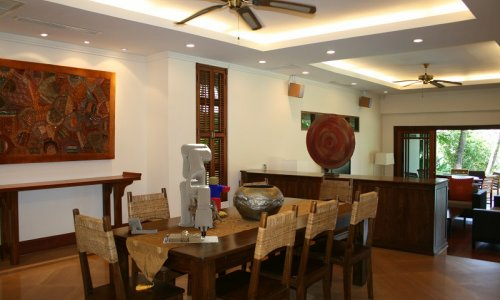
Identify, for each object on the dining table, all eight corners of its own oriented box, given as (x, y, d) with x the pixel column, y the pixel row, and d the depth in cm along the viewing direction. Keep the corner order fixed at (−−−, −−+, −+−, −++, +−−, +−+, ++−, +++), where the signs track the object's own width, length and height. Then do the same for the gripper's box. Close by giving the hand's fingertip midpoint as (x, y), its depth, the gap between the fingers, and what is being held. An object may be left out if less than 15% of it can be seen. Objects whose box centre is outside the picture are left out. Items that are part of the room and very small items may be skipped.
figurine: (218, 211, 354) (218, 175, 353) (232, 215, 336) (232, 177, 336) (195, 213, 341) (195, 176, 340) (208, 217, 324) (209, 179, 323)
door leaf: (182, 237, 257) (182, 230, 257) (200, 237, 259) (200, 230, 259) (181, 242, 245) (181, 234, 245) (201, 242, 247) (201, 234, 247)
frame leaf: (169, 237, 257) (170, 230, 257) (188, 237, 258) (188, 230, 258) (168, 242, 245) (168, 235, 245) (188, 242, 246) (188, 234, 246)
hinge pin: (165, 237, 257) (165, 234, 257) (168, 237, 257) (168, 234, 257) (163, 242, 245) (164, 239, 244) (167, 242, 245) (167, 239, 245)
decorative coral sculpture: (225, 209, 315) (231, 208, 286) (210, 237, 310) (215, 239, 281) (196, 192, 313) (199, 190, 284) (180, 220, 307) (181, 220, 278)
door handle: (130, 240, 276) (127, 230, 258) (131, 228, 280) (127, 218, 262) (158, 238, 279) (156, 229, 261) (158, 227, 282) (156, 217, 265)
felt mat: (164, 237, 258) (164, 237, 258) (217, 236, 262) (217, 236, 262) (162, 244, 243) (162, 243, 243) (218, 242, 247) (218, 242, 247)
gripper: (216, 206, 257) (215, 235, 258) (191, 206, 255) (191, 236, 256) (216, 207, 250) (216, 238, 250) (191, 208, 248) (191, 239, 248)
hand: (203, 237), depth 253 cm, fingers closed
